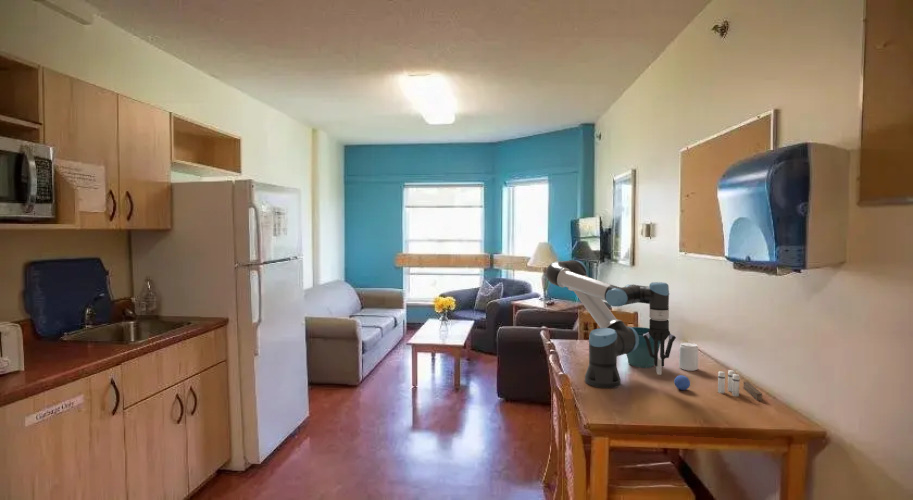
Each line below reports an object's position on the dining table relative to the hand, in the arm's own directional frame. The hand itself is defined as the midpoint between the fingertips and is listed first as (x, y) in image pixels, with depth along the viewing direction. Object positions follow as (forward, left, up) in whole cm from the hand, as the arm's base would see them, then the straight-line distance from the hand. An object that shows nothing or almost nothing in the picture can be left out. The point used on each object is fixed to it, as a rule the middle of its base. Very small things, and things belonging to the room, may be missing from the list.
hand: (658, 373), depth 190 cm
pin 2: (+29, -2, -6) cm, 29 cm away
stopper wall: (+36, 0, -6) cm, 36 cm away
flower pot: (-2, +32, -7) cm, 33 cm away
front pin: (+24, 0, -6) cm, 25 cm away
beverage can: (+19, +30, -7) cm, 36 cm away
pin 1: (+29, +3, -6) cm, 30 cm away
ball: (+9, 0, -3) cm, 10 cm away
